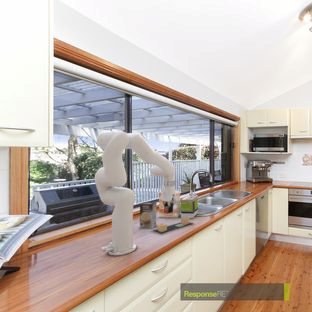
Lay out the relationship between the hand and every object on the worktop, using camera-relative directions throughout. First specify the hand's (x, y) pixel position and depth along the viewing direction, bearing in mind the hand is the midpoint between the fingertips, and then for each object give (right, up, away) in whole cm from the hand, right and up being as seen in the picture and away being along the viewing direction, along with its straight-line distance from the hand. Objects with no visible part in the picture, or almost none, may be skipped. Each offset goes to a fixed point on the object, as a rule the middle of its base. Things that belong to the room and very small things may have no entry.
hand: (168, 211), depth 142 cm
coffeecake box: (-9, -12, +31) cm, 35 cm away
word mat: (+3, -12, +4) cm, 13 cm away
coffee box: (-15, -12, +5) cm, 20 cm away
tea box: (+7, -12, +33) cm, 36 cm away
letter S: (0, -1, 0) cm, 1 cm away
